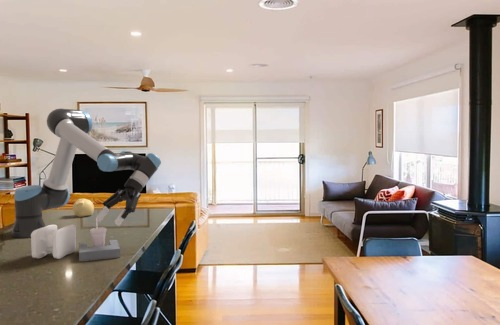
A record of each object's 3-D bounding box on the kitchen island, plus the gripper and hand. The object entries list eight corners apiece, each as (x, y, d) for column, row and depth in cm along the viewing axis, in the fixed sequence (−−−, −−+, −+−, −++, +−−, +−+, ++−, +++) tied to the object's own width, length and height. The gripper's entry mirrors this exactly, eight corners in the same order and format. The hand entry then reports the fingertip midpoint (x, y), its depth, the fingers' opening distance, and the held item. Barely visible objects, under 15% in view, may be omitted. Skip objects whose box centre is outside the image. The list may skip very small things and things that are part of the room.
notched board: (79, 251, 174) (78, 242, 174) (116, 247, 180) (116, 239, 180) (79, 261, 159) (78, 252, 159) (120, 257, 165) (120, 248, 165)
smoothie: (93, 250, 176) (92, 217, 175) (108, 249, 176) (108, 216, 176) (88, 254, 169) (87, 220, 169) (104, 253, 170) (104, 219, 169)
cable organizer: (55, 261, 159) (55, 231, 159) (30, 260, 161) (29, 230, 160) (76, 251, 174) (76, 223, 173) (53, 250, 175) (52, 223, 175)
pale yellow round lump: (72, 215, 255) (72, 197, 255) (93, 213, 260) (92, 196, 260) (73, 218, 245) (72, 200, 244) (94, 216, 250) (94, 198, 249)
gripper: (159, 190, 180) (130, 231, 169) (124, 186, 195) (96, 223, 185) (149, 179, 175) (119, 220, 165) (114, 175, 191) (84, 213, 180)
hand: (106, 222), depth 175 cm, fingers open, 13 cm apart
